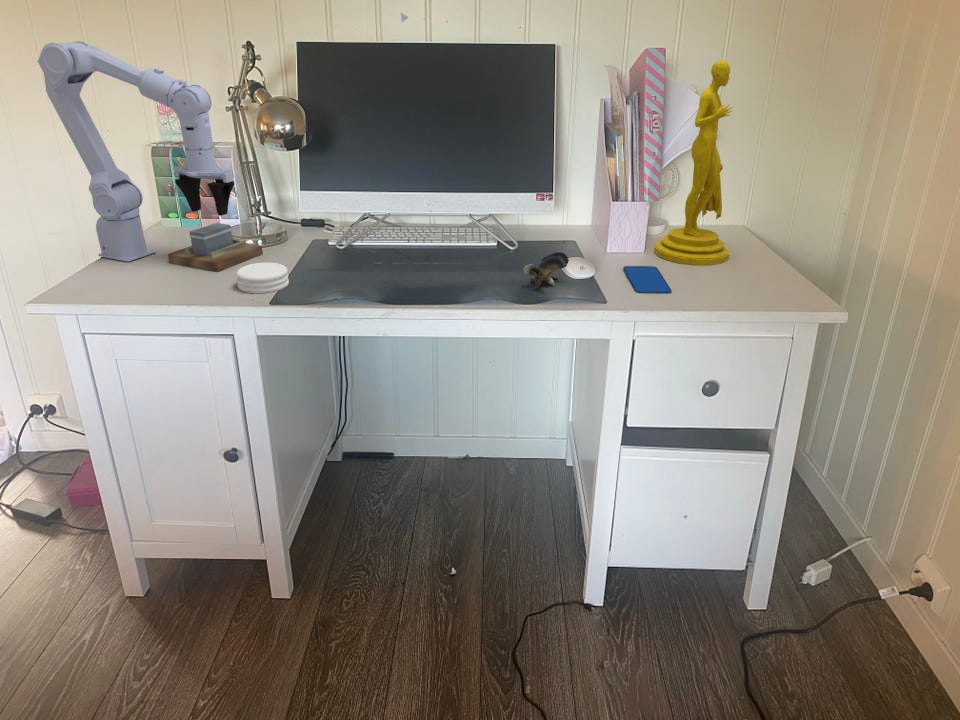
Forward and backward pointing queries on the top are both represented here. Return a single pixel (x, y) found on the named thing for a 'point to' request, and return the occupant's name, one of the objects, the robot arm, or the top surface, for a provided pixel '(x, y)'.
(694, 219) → the statue
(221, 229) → the blue-grey lidded box
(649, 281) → the smartphone
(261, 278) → the white short ridged cylinder
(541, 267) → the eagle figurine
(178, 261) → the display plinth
